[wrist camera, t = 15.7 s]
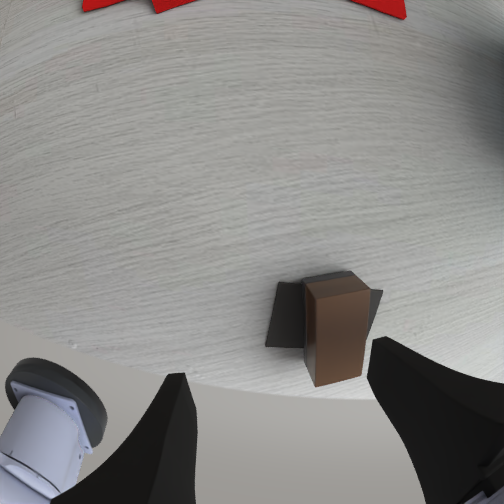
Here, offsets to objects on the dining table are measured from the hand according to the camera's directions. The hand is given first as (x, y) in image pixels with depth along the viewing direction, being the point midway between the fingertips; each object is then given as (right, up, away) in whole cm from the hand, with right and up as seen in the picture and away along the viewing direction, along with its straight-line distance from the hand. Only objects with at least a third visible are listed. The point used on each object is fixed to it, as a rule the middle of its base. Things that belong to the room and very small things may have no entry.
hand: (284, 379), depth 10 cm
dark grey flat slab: (+4, 0, +10) cm, 11 cm away
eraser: (+4, 0, +10) cm, 11 cm away
